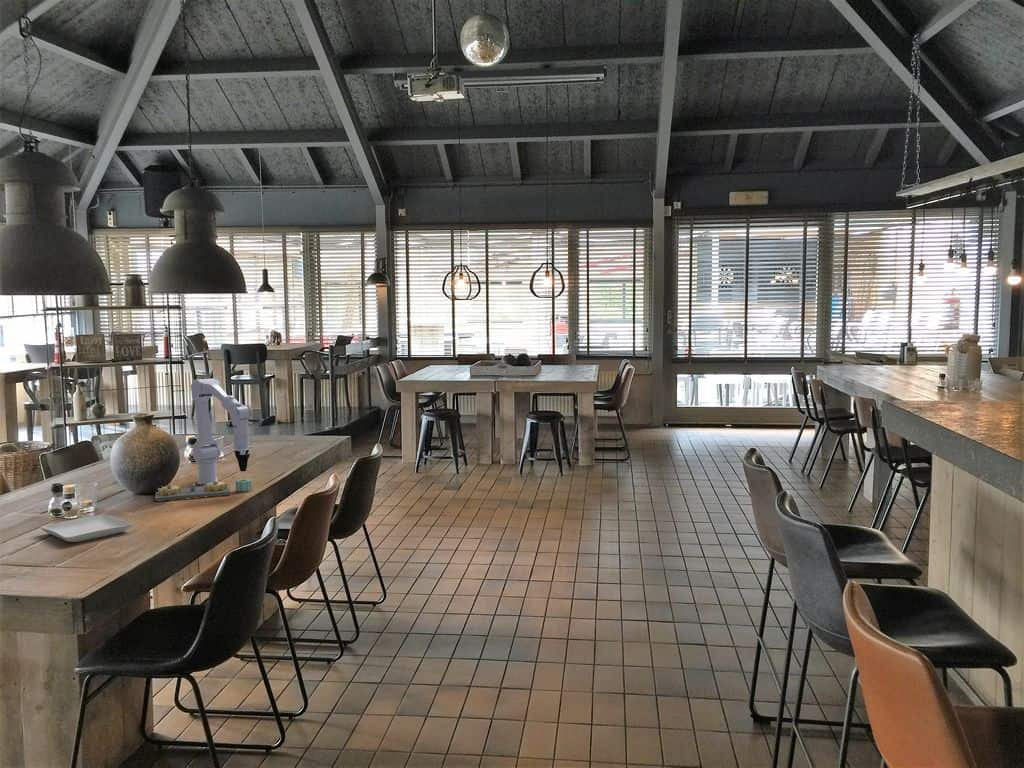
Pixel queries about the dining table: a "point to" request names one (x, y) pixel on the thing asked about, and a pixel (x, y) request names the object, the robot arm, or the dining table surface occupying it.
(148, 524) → the dining table surface
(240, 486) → the teal gear
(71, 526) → the salad plate
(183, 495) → the gear board
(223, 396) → the robot arm
